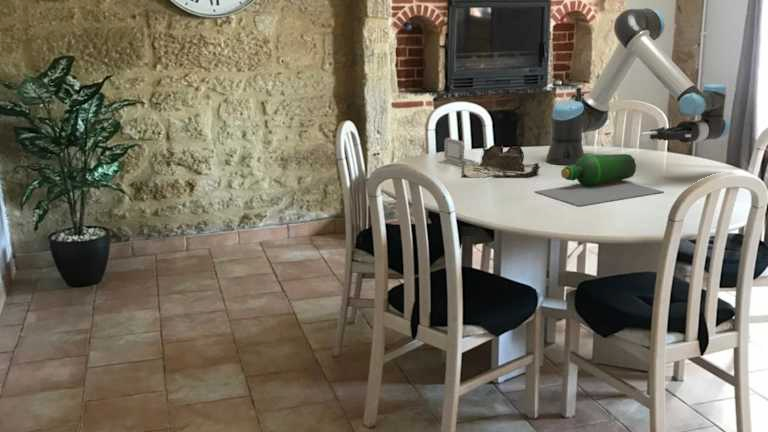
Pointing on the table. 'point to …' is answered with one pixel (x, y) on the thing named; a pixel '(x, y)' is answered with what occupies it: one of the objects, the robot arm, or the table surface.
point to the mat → (598, 193)
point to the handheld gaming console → (456, 153)
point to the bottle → (600, 169)
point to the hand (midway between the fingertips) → (641, 137)
